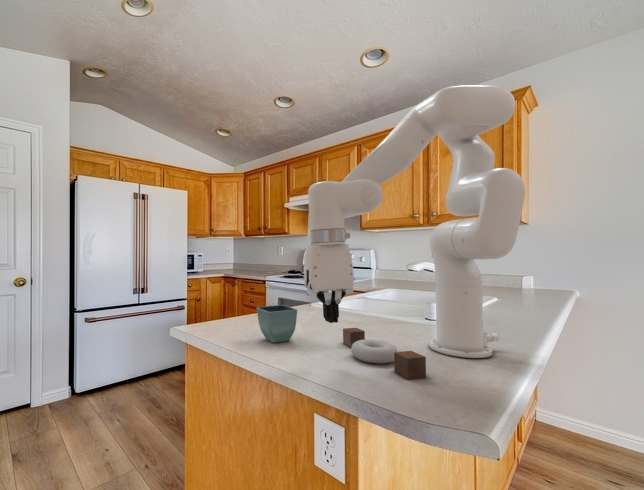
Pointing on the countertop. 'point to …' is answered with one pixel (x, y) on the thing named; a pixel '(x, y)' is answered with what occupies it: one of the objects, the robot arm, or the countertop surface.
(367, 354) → the donut
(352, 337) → the walnut block
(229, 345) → the countertop surface
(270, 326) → the flower pot
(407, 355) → the walnut block
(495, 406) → the countertop surface
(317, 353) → the countertop surface
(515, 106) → the robot arm
